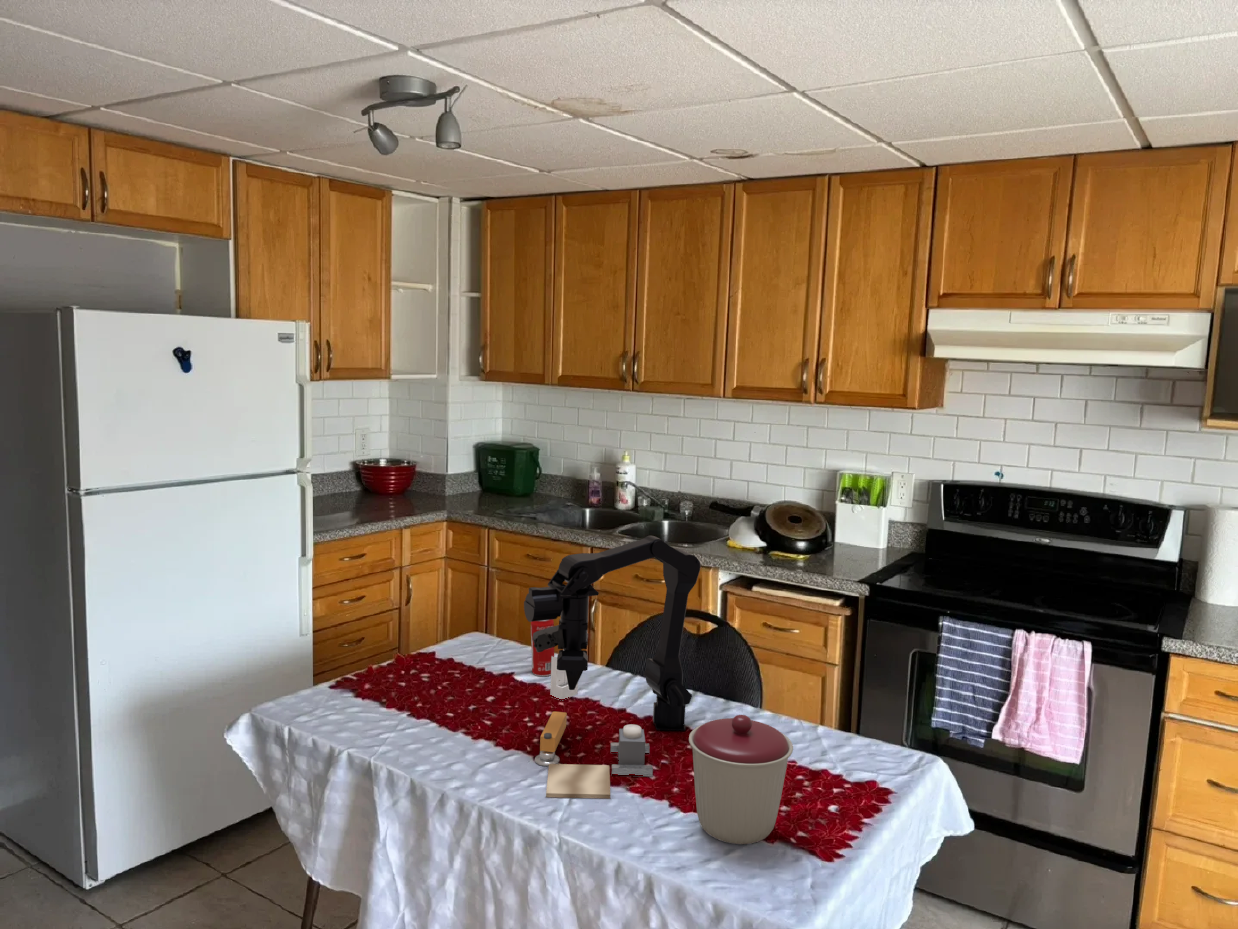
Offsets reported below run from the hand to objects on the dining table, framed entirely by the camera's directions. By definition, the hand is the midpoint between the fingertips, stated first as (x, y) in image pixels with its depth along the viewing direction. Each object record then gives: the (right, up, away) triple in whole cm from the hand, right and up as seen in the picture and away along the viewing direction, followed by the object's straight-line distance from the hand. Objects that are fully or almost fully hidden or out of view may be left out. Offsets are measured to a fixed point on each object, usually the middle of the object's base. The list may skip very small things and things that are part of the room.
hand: (571, 688), depth 197 cm
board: (+2, -14, -16) cm, 22 cm away
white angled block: (-3, -8, +27) cm, 29 cm away
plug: (+12, -14, -7) cm, 20 cm away
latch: (-4, -10, -2) cm, 11 cm away
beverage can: (-10, -6, +41) cm, 43 cm away
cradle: (+5, -13, -7) cm, 16 cm away
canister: (+31, -18, -31) cm, 47 cm away
